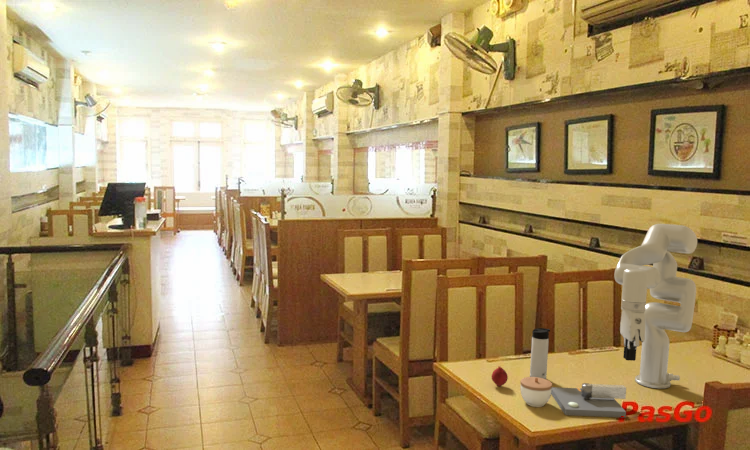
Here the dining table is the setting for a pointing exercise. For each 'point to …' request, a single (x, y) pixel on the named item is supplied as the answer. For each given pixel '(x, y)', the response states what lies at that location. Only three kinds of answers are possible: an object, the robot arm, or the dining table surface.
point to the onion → (499, 376)
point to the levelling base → (585, 404)
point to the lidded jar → (536, 391)
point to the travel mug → (539, 353)
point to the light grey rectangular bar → (603, 391)
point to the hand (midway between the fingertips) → (629, 359)
